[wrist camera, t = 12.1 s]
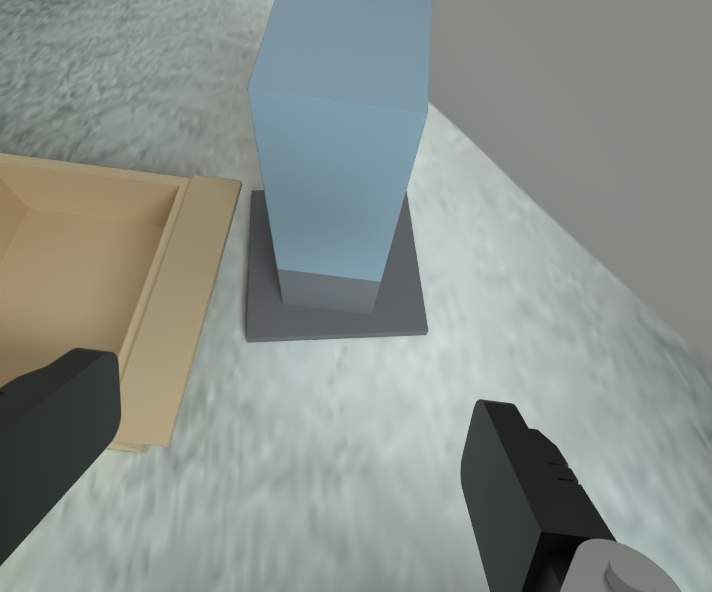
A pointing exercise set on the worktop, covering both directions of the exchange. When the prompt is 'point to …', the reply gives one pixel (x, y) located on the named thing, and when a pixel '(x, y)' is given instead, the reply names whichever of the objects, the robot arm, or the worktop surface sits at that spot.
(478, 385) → the worktop surface
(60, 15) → the worktop surface
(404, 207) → the rubber mat
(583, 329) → the worktop surface
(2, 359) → the kraft carton
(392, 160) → the slate blue box
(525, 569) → the robot arm
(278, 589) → the worktop surface
